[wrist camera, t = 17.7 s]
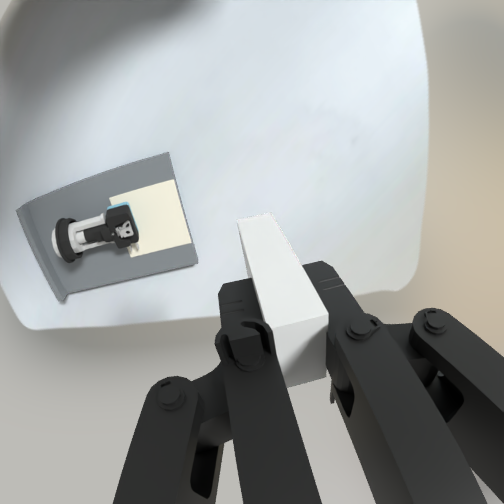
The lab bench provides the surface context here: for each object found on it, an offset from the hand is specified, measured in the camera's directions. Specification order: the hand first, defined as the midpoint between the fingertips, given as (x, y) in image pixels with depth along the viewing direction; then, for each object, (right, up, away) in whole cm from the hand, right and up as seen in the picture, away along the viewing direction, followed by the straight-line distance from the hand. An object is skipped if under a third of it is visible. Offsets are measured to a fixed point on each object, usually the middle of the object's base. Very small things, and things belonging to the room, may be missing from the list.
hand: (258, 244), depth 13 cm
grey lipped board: (-19, +2, +20) cm, 28 cm away
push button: (-13, +3, +18) cm, 23 cm away
